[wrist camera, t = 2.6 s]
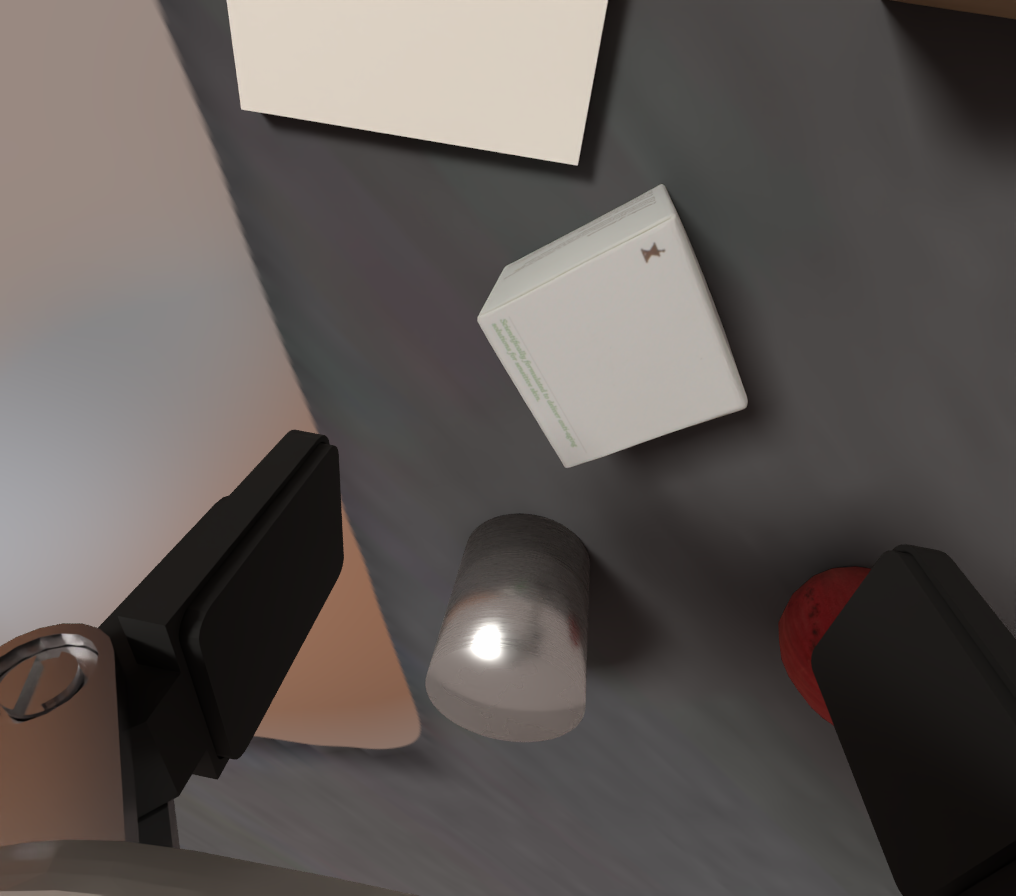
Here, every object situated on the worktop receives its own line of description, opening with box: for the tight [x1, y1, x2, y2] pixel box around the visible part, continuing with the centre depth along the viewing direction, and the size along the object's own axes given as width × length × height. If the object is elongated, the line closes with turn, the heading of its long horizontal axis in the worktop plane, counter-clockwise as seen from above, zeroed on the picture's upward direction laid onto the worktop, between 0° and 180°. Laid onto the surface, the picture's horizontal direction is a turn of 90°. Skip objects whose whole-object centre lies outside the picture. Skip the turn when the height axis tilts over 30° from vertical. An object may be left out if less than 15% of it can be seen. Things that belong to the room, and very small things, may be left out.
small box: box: [478, 184, 748, 468], centre depth 16 cm, size 6×6×5 cm
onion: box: [778, 567, 871, 725], centre depth 20 cm, size 6×6×8 cm
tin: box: [426, 514, 590, 742], centre depth 23 cm, size 6×6×7 cm
